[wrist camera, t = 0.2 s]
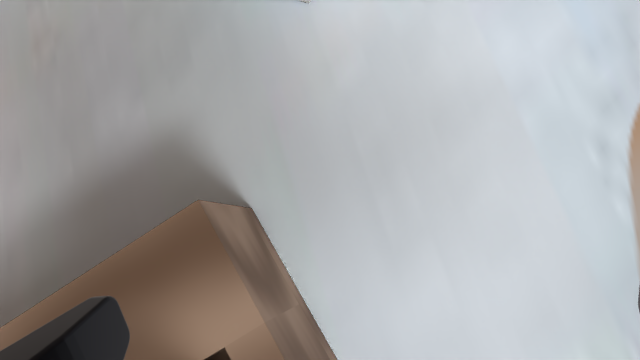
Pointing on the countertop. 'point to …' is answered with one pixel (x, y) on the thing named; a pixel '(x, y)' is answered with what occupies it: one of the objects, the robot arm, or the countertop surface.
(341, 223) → the countertop surface
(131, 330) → the wooden socket block
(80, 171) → the countertop surface
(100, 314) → the robot arm
